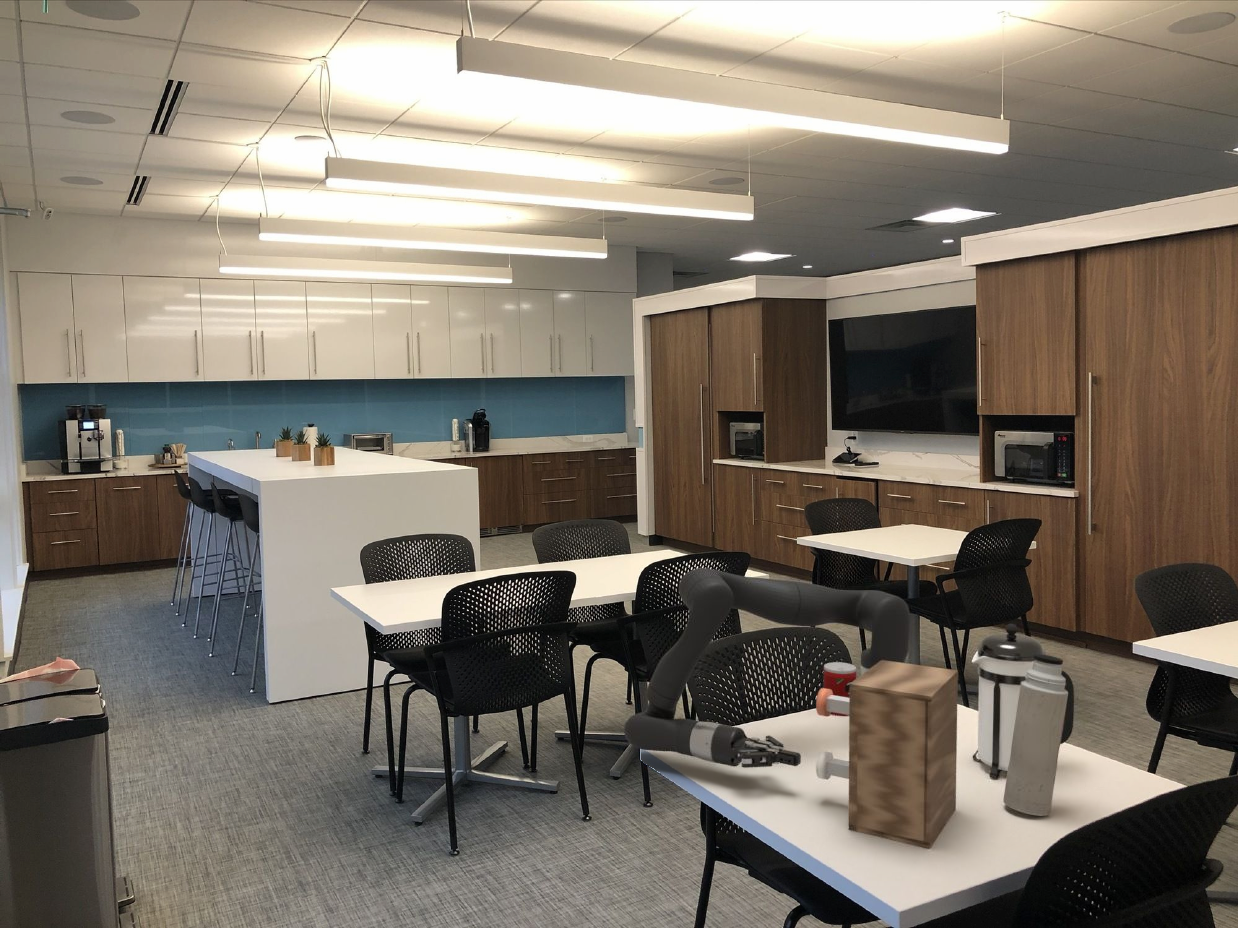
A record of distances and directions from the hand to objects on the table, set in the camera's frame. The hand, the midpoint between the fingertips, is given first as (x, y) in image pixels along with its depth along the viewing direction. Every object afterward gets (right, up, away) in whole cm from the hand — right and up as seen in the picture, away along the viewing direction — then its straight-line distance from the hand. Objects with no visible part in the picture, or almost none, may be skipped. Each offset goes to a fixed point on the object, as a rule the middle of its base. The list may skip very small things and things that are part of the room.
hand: (799, 759), depth 184 cm
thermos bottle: (+40, -7, -7) cm, 41 cm away
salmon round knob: (+9, +9, -7) cm, 15 cm away
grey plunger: (+9, -3, -6) cm, 11 cm away
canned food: (+19, -4, +50) cm, 54 cm away
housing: (+17, -8, -10) cm, 21 cm away
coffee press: (+46, -6, +13) cm, 48 cm away
